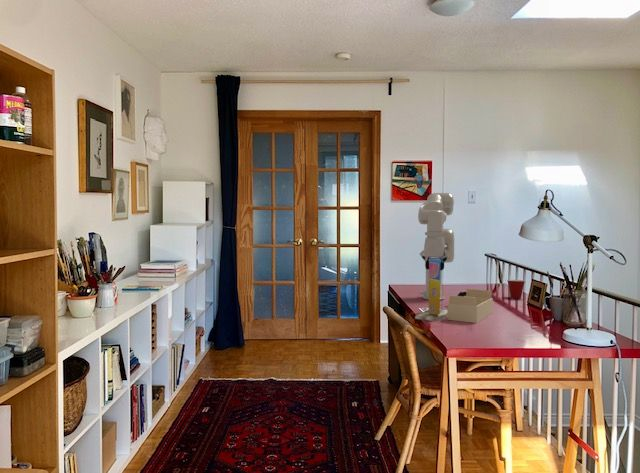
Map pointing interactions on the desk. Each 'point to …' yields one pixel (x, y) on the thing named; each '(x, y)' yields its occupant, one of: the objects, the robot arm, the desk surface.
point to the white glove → (431, 315)
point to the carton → (470, 306)
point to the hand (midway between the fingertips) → (434, 269)
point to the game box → (434, 285)
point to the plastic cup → (516, 288)
